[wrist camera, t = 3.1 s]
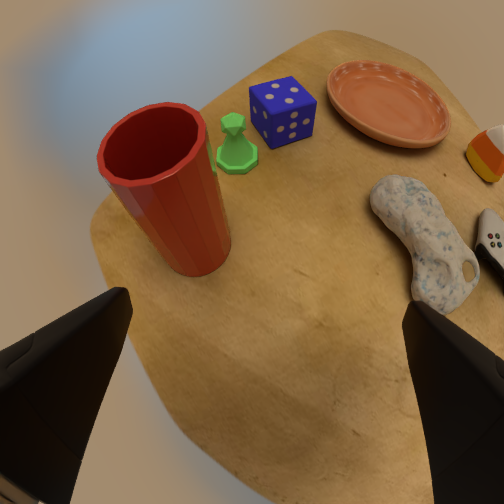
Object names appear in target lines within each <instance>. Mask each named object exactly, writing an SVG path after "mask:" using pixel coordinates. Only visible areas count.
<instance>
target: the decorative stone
mask: <svg viewBox="0 0 504 504" xmlns="http://www.w3.org/2000/svg"><path fill="white" fill-rule="evenodd" d="M370 203H371V208H372V210H373V212H374V213H375V214H376V215H377V216H379V218H380V219H381V220H382V221H383V223H384V224H385V225H386V226H387V227H388V228H389V229H390V230H391V231H393V232H394V233H395V234H396V235H397V236H398V237H399V239H400V240H401V241H402V242H403V244H404V245H405V246H406V247H407V248H408V250H409V252H410V254H411V257H412V264H413V279H412V284H411V292H412V297H413V299H414V300H415V301H418V300H421V301H423V302H425V303H426V304H428V305H429V306H430V307H432V308H433V309H435V310H436V311H438V312H439V313H440V314H442V315H446V314H449V313H451V312H452V311H454V310H455V309H456V308H458V307H459V306H460V305H461V304H462V302H463V301H464V300H465V299H466V298H467V297H468V295H469V294H470V293H471V291H472V290H473V289H474V287H475V286H476V285H477V283H478V280H479V276H480V270H479V264H478V261H477V259H476V257H475V255H474V253H473V252H472V250H471V249H470V248H469V247H468V246H467V245H466V244H465V243H464V241H463V240H462V238H461V237H460V235H459V234H458V231H457V229H456V228H455V226H454V225H453V224H452V223H451V222H450V220H449V219H448V218H447V217H446V216H445V212H444V210H443V208H442V206H441V204H440V202H439V201H438V199H437V197H436V196H435V195H434V194H432V193H431V192H430V191H429V190H428V189H427V187H426V186H425V185H424V184H423V183H422V182H421V181H419V180H417V179H414V178H411V177H404V176H400V175H396V174H395V175H387V176H385V177H383V178H381V179H380V180H379V181H378V182H377V183H376V184H375V186H374V187H373V188H372V190H371V194H370ZM465 261H468V262H470V263H471V264H472V265H473V267H474V271H475V278H474V279H472V280H471V281H470V282H465V279H464V276H463V272H462V264H463V263H464V262H465Z"/></svg>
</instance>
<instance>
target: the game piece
mask: <svg viewBox="0 0 504 504" xmlns="http://www.w3.org/2000/svg"><path fill="white" fill-rule="evenodd" d="M221 128H222V132H224V133H226V134H227V136H226V138H225V141H224V143H223V145H222V146H220V147H219V148H218V149H217V159H216V161H217V166H219V167H220V168H221V169H222V170H224V171H225V172H226V173H227V174H246V173H247V172H248V171H250V170H251V169H252V168H254V167H255V166H256V165H257V164H258V150H257V146H255V145H254V144H252V143H251V142H249V141H248V140H247V139H246V138H245V136H244V135H243V134H242V132H243V131H244V130H246V123H245V116H242V115H239V114H236V113H234V112H232V113H230V114H228V115H226V116H225V117H223V118H221Z"/></svg>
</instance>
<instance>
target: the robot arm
mask: <svg viewBox="0 0 504 504" xmlns="http://www.w3.org/2000/svg"><path fill="white" fill-rule="evenodd" d="M132 314H133V308H132V304H131V300H130V296H129V292H128V290H127V289H126V288H124V287H114V288H112V289H110V290H108V291H107V292H104V293H103V294H101V295H99V296H97V297H95V298H94V299H92V300H90V301H88V302H86V303H85V304H83V305H81V306H79V307H78V308H76V309H74V310H72V311H71V312H69V313H67V314H65V315H63V316H62V317H60V318H58V319H56V320H55V321H53V322H51V323H49V324H48V325H46V326H44V327H42V328H41V329H39V330H37V331H36V332H35V333H32V334H30V335H29V336H27V337H25V338H23V339H22V340H20V341H18V342H16V343H15V344H13V345H11V346H9V347H7V348H5V349H3V350H1V351H0V504H38V502H39V501H40V502H42V503H44V504H70V501H71V497H72V494H73V490H74V486H75V483H76V479H77V476H78V472H79V469H80V466H81V463H82V461H81V460H82V459H83V456H84V453H85V449H86V446H87V443H88V440H89V437H90V434H91V431H92V428H93V426H94V423H95V420H96V417H97V414H98V411H99V409H100V406H101V403H102V401H103V398H104V395H105V392H106V390H107V387H108V385H109V382H110V379H111V377H112V374H113V372H114V369H115V367H116V364H117V362H118V359H119V356H120V354H121V351H122V348H123V344H124V341H125V338H126V334H127V331H128V328H129V324H130V321H131V318H132ZM402 330H403V335H404V341H405V346H406V353H407V359H408V365H409V369H410V373H411V377H412V381H413V385H414V389H415V393H416V398H417V402H418V406H419V411H420V415H421V420H422V425H423V430H424V435H425V440H426V446H427V452H428V458H429V464H430V471H431V478H432V487H433V496H434V504H504V360H502V359H501V358H500V357H499V356H497V355H496V356H495V353H493V352H492V351H491V350H489V349H488V348H487V347H485V346H484V345H483V344H481V343H480V342H479V341H477V340H476V339H475V338H473V337H472V336H471V335H469V334H468V333H467V332H465V331H464V330H463V329H461V328H460V327H458V326H457V325H456V324H454V323H453V322H452V321H450V320H449V319H447V318H446V317H445V316H443V315H442V314H440V313H439V312H438V311H436V310H435V309H433V308H432V307H430V306H429V305H428V304H426V303H425V302H423V301H421V300H418V301H410V303H409V304H408V307H407V310H406V313H405V315H404V318H403V321H402Z"/></svg>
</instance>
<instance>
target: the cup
mask: <svg viewBox="0 0 504 504" xmlns="http://www.w3.org/2000/svg"><path fill="white" fill-rule="evenodd" d="M97 162H98V169H99V172H100V174H101V175H102V177H103V178H104V179H105V181H106V182H107V184H108V185H109V186H110V188H111V189H112V191H113V192H114V194H115V195H116V197H117V198H118V199H119V201H120V202H121V203H122V205H123V206H124V208H125V209H126V210H127V212H128V213H129V214H130V216H131V217H132V218H133V220H134V221H135V222H136V224H137V225H138V227H139V228H140V229H141V230H142V232H143V233H144V234H145V236H146V237H147V238H148V240H149V241H150V242H151V244H152V245H153V246H154V247H155V249H156V250H157V251H158V253H159V254H160V255H161V256H162V258H163V259H164V260H165V261H166V262H167V263H168V265H169V266H170V267H171V268H172V269H173V270H174V271H176V272H178V273H180V274H182V275H185V276H191V277H197V276H203V275H206V274H209V273H211V272H213V271H214V270H216V269H217V268H218V267H219V266H221V264H222V263H223V262H224V261H225V259H226V258H227V256H228V254H229V251H230V246H231V238H230V230H229V226H228V221H227V217H226V213H225V208H224V204H223V199H222V195H221V191H220V186H219V182H218V177H217V173H216V168H215V164H214V159H213V154H212V150H211V145H210V141H209V136H208V131H207V127H206V123H205V122H204V120H203V118H202V116H201V115H200V113H199V112H198V111H196V110H195V109H193V108H191V107H189V106H187V105H186V104H180V103H172V102H164V103H158V104H152V105H148V106H145V107H143V108H140V109H138V110H136V111H134V112H131V113H130V114H128V115H127V116H125V117H124V118H123V119H121V120H120V121H119V122H117V123H116V124H115V125H114V126H113V127H112V128H111V129H110V130H109V132H108V133H107V134H106V136H105V137H104V138H103V140H102V142H101V144H100V148H99V150H98V154H97Z"/></svg>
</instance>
